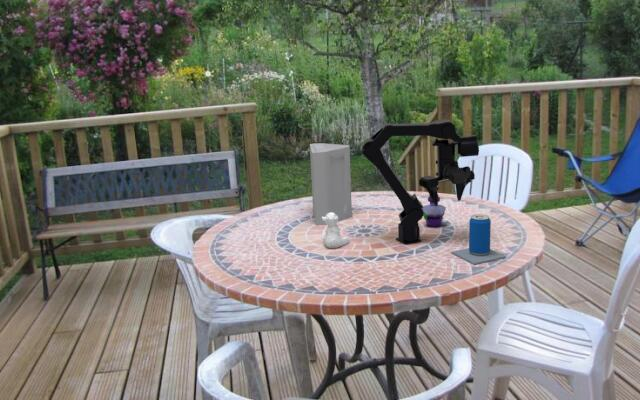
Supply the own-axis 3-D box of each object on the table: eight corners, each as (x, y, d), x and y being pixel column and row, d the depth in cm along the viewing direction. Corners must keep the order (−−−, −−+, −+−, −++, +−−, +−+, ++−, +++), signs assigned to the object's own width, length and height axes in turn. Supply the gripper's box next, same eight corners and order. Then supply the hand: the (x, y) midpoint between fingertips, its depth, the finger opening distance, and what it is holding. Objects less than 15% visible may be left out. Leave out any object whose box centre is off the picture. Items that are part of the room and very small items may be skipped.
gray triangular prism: (354, 223, 242) (352, 150, 235) (315, 225, 241) (312, 152, 234) (349, 209, 260) (346, 141, 253) (313, 211, 260) (309, 143, 253)
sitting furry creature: (350, 242, 221) (349, 208, 218) (344, 250, 213) (343, 216, 210) (324, 240, 223) (322, 208, 220) (317, 249, 215) (315, 215, 212)
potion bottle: (417, 225, 235) (416, 194, 232) (432, 220, 240) (432, 189, 237) (435, 230, 229) (435, 198, 226) (450, 225, 234) (450, 193, 231)
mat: (474, 265, 194) (474, 263, 194) (451, 253, 205) (451, 251, 205) (505, 258, 199) (506, 256, 199) (481, 247, 210) (481, 245, 209)
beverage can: (486, 248, 206) (487, 213, 203) (492, 255, 200) (493, 219, 197) (466, 250, 206) (467, 214, 203) (472, 256, 200) (472, 220, 196)
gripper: (436, 166, 201) (437, 213, 205) (484, 157, 207) (485, 203, 212) (417, 160, 211) (419, 206, 215) (464, 152, 217) (465, 196, 222)
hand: (447, 203), depth 215 cm, fingers open, 9 cm apart
